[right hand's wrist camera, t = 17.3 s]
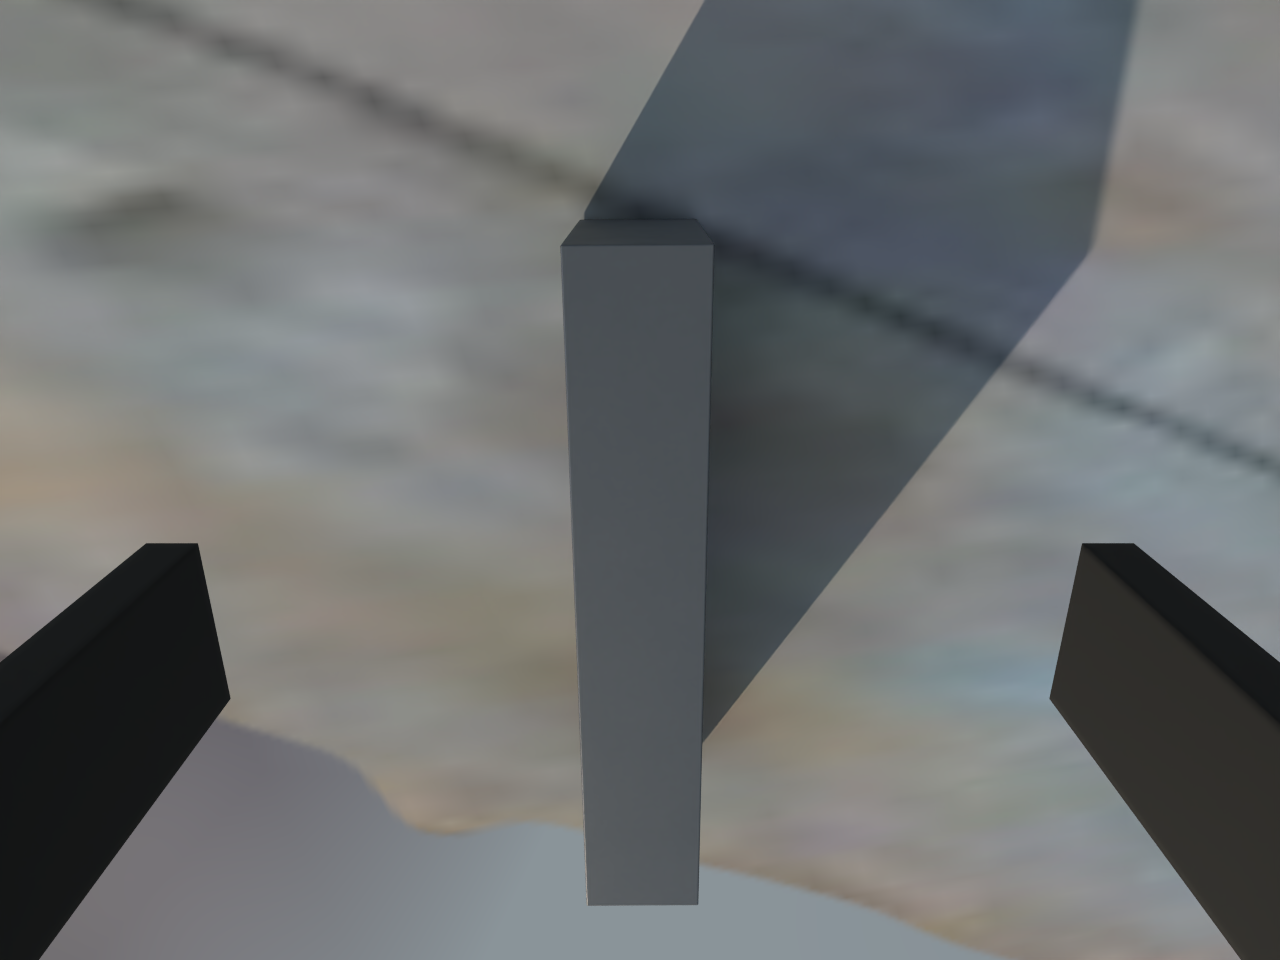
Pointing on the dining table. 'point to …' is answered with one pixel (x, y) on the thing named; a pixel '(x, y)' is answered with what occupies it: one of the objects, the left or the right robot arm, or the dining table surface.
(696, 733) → the bar
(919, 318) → the dining table surface
